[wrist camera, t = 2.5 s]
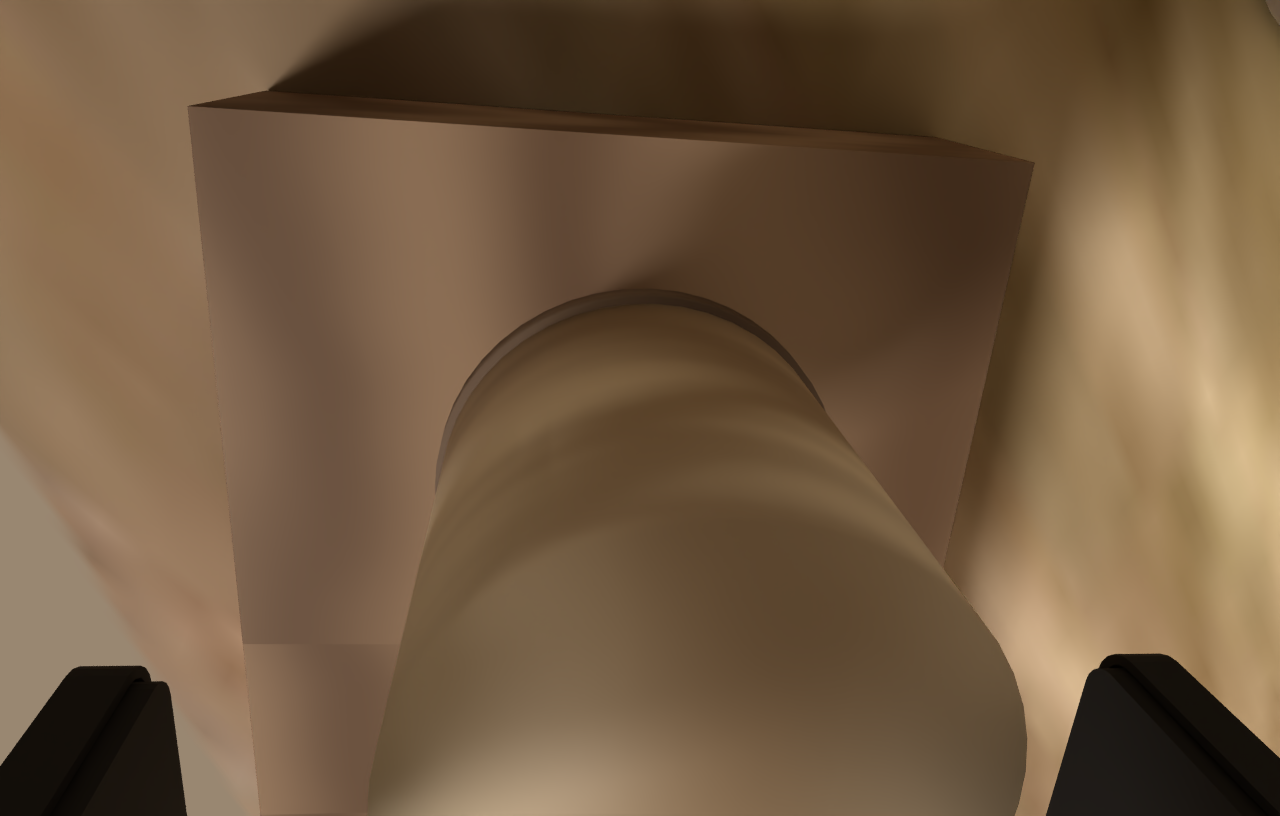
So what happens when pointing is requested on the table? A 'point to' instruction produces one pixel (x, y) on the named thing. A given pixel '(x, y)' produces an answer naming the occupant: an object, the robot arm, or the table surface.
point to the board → (515, 293)
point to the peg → (679, 596)
